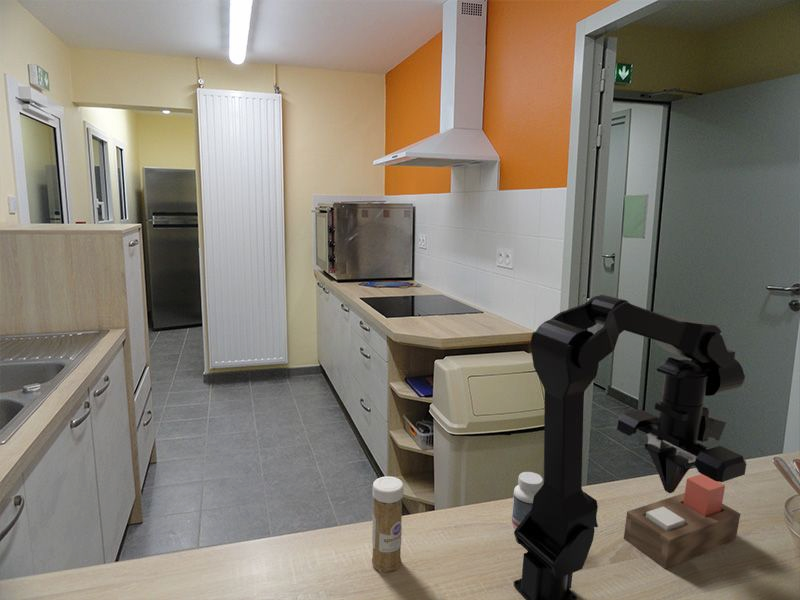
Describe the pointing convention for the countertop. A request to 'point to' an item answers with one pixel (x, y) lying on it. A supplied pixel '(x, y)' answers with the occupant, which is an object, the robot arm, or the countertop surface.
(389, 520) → the sprinkles bottle
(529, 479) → the pill bottle
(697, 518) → the socket block
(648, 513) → the grey plug
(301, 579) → the countertop surface
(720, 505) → the red plug
